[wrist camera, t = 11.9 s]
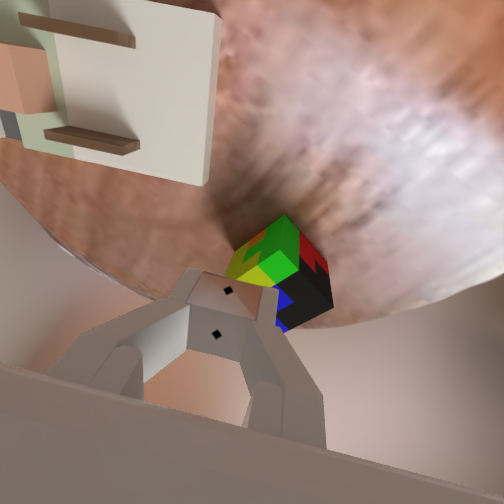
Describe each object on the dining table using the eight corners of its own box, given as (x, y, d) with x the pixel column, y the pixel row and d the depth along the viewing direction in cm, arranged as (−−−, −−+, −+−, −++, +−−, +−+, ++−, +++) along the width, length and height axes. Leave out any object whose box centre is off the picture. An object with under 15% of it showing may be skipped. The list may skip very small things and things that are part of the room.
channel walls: (51, 20, 28) (17, 11, 25) (135, 37, 28) (112, 30, 25) (70, 134, 34) (45, 139, 31) (140, 149, 34) (122, 156, 30)
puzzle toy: (276, 293, 46) (269, 340, 37) (234, 251, 43) (217, 292, 34) (327, 262, 41) (333, 307, 33) (284, 213, 38) (279, 249, 30)
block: (-6, 40, 30) (-51, 33, 26) (45, 50, 30) (8, 44, 26) (10, 101, 33) (-28, 103, 29) (57, 111, 33) (25, 114, 29)
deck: (-55, -33, 30) (-88, -44, 27) (222, 20, 29) (214, 13, 26) (-5, 133, 39) (-26, 136, 36) (208, 179, 37) (201, 186, 35)
